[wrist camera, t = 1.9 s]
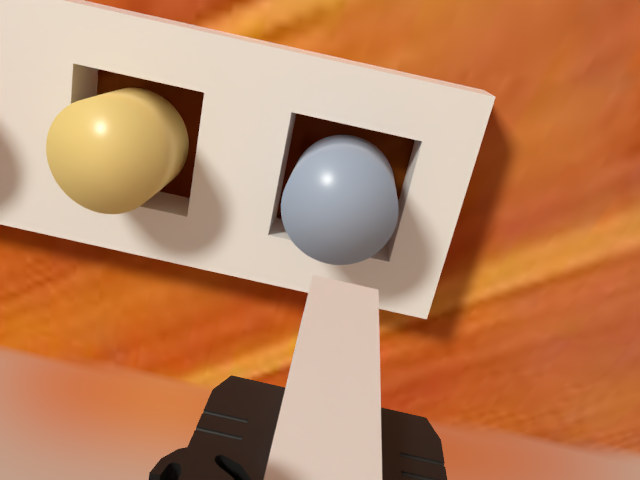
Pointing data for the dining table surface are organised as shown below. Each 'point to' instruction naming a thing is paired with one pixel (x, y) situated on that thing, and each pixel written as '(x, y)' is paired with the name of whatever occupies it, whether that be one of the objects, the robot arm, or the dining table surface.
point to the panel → (232, 145)
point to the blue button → (340, 201)
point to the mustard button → (116, 149)
